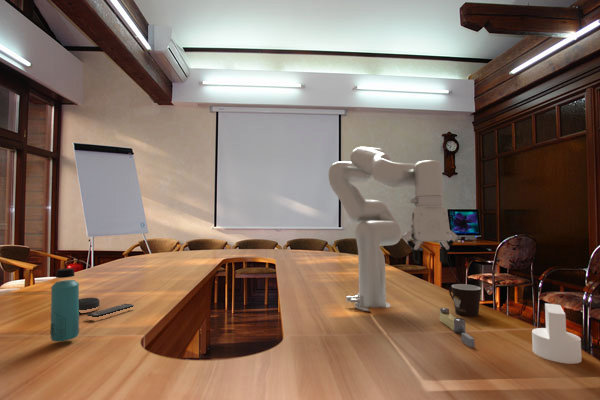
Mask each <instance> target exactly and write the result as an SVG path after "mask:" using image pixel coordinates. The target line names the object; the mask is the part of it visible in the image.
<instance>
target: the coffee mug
mask: <svg viewBox="0 0 600 400" xmlns="http://www.w3.org/2000/svg"><path fill="white" fill-rule="evenodd" d="M481 291H482V287H480V286H477V285H473V284H465V283H460V284H459V283H457V284H452V285H451V286H450V287H449V291H448V292H449V296H450V298H451V299H452V302H453V305H454V312H455V314H456V315H457V316H461V317H467V318H475V317H479V312H480V300H481V294H482V293H481Z"/></svg>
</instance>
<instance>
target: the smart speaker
mask: <svg viewBox="0 0 600 400" xmlns="http://www.w3.org/2000/svg"><path fill="white" fill-rule="evenodd" d="M79 305H80V306H79V307H80V308H79V310H87V309H92V308H96V307H98V306H99V307H100V299H99V298H98V297H85V298H79Z"/></svg>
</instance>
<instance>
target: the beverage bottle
mask: <svg viewBox="0 0 600 400" xmlns="http://www.w3.org/2000/svg"><path fill="white" fill-rule="evenodd" d="M73 277H75V270H74V268H71V267H69V268H66V267H65V268H58V269H57V270H56V274H55V278H56V279H63V280H59V281H56V282H55V283H54V284H52V286H50V289H51V300H50V301H51V303H50V312H49V313H50V331H49V332H50V336H49V337H50V339H51V341H52V342H64V341H69V340H72V339H75V338H77V337H78V336H79V334H80V315H81V314H80V312H79V308H80V307H79V306H80V305H79V299H80V296H79V295H80V291H79V290H80V287H79V286H80V284H79V282H77V281H76V280H74V279H65V280H64V278H73Z"/></svg>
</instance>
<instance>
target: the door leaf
mask: <svg viewBox="0 0 600 400" xmlns="http://www.w3.org/2000/svg"><path fill="white" fill-rule="evenodd" d="M460 335H461V342H462V343H464V344H465V345H466V346H467V347H468V348H475V347H476V346H475V345H476V344H475V338H474V337H472V336H471V335H470V334H468V333H467V332H465V333H461V334H460Z"/></svg>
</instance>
